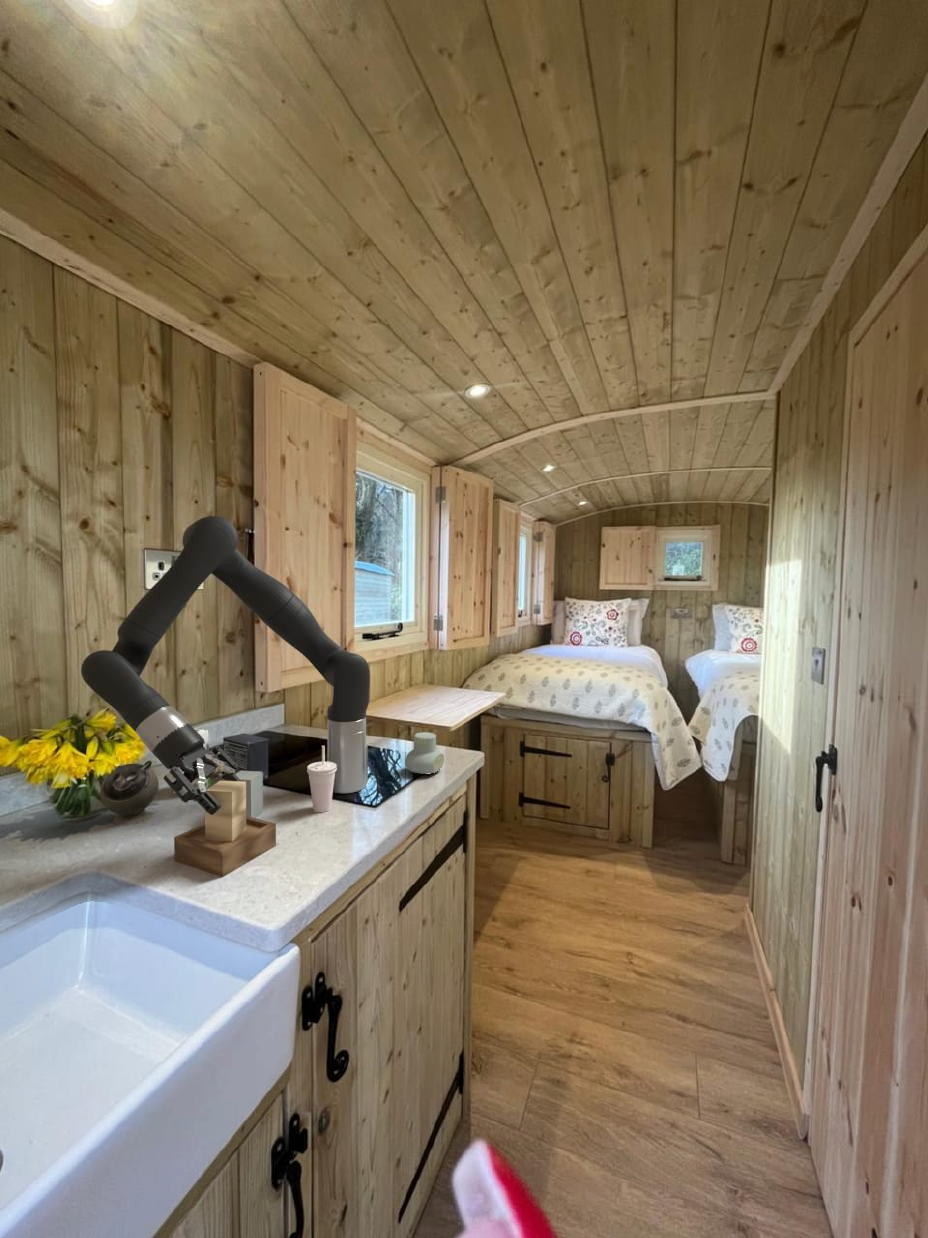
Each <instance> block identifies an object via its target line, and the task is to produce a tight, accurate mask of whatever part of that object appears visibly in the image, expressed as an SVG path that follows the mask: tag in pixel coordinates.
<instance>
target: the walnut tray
mask: <svg viewBox="0 0 928 1238" xmlns="http://www.w3.org/2000/svg"><path fill="white" fill-rule="evenodd" d="M275 847H277V823H276V822H272V821H269V820H268V821H267V820H264V819H261V818H258V817H257V818H253V817H249V816H246V830H244V831H243V832H242V833H241V834H240V835H239V836H238V837H237V838H236V839H235V840H234V841H232V842H230V841H212V840H205V822H204V823H202V824H199V825H197V826H195V827H194V828H191V829H189V830H187V831H185V832H183V833H180V834H178V835H176V836H174V837H173V848H174V849H173V850H174V853H173V855H174V856H173V857H174V859H173V860H174V862H176V863H179V864H183V865H185V866H188V867H190V868H194V869H197V870H200V871H203V872H206V873H208V874H211V875H216V876H219V877H221V878H224V877H226V876H227V875H229V874H231V873H233V872H234V871H236V870H238V869H239V868H241V867H243V866H244V865H246V864H248V863H250V862H252V861H253V860H255V859H257V858H258V857H259V856H262V855H264V854H265V853H267V852H268V851H269V850H272V849H273V848H275Z"/></svg>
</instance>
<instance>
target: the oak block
mask: <svg viewBox="0 0 928 1238" xmlns="http://www.w3.org/2000/svg"><path fill="white" fill-rule="evenodd" d="M207 791H208V792H209V793H210V794H211V795H212V796H213V797H214V798H215V799H216V800H217V801H218V802H219V803H220V805H221V808H220V809H219V810H218V811H217V812H216V813H214V814H213V815H210V814H209V813H208V812H206V811H205V810H204V823H205V840H212V841H230V842H232V841H234V840H235V839H236V838H237V837H238V836H239V835H240V834H241V833H242V832H243V831H244V830H246V782H240V781H223V780H219V781H217V782H216V783H214V784H213V785H210V787H209V788H207V789H206V791H205V792H207Z"/></svg>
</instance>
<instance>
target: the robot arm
mask: <svg viewBox="0 0 928 1238" xmlns="http://www.w3.org/2000/svg"><path fill="white" fill-rule="evenodd" d="M238 544H239V535H238V530H237V529H236V527H235V526H234V524H233V523H232V522H230V521H229V520H228V519H226V518H223V517H221V516H217V515H209V516H205V517H204V516H203V517H201V518H199V519H198V520H196V521H194V522H193V523H191V524H190V525H189V526H188V527H187V528H186V529H185V531H184V532H183V535H182V546H183V549H182V550H181V552H180V554H178V555H179V556H178V557H177V558H176V559H175V561H174V562H173V563H172V565H171V566H170V568H169V569H168V570H167V571H166V572H165V573H164V574H163V576H161V578H160V579H159V580H158V581H156V582H155V584H154V585H153V586H152V587H151V588H150V589H149V590H148V591H147V592H146V593H145V594H144V595H143V596H142V597H141V599H140V600H139V601H138V603H136V605H135V606H134V607H133V608H132V610H131V611H130V613H128V615H127V616H126V617H125V619H124V620H123V621H122V623H121V624H120V625H119V627H118V629H117V633H116V634H117V638H118V639H117V641H116V644H115V645H114V647H113V649H112V650H105V649H102V650H98V651H93V652H92V653H90V654H88V656H86V657H85V658H84V660H83V662H82V664H81V668H80V669H81V670H80V673H81V677H82V679H83V681H84V682H85V684H86V685H87V686H88V687H89V688H90V689H91V690H92V691H93V692H94V693H95V694H96V695H97V696H99V697H100V699H102V700H103V701H104V702H106V703H107V704H108V705H109V706H111V708H114V710H115V711H116V712H117V713H118V714H119V716H121V718H122V719H123V721H124V722H125V723H126V724H127V725H128V726H129V727H130V728H131V729H132V730H133V731H134V732H135V733H136V735H137V736H138V738H139V739H140V740H141V742H142V743H143V744H144V746H146V747H147V749H148V750H149V751H150V752H151V753H152V754H153V755H154V757H156V758H157V760H159V761H160V762H161V763H162V765H163V766H164V767H165V768H166V769H167V770H169V771H168V772H167V773H166V774H165V775H164V776H163V780H164V781H165V783H167V785H168V786H169V787H170V788H171V790H172V791H174V792H175V793H176V794H175V795H176V796H178V798H179V799H180V800H181V801H182V803H188V802H189V801H193V802H196V803H198V804H199V806H200V807H202V809H203V811H204V812H205V811H206V812H208V813H209V814H210V815H213V814H214V813H216V812H217V811H218V810H219V809H220V808H221V805H220V803H219V802H218V801H217V800H216V799H215V798H214V797H213V796H212V795H211V794H210V793H209V792H208V791H207V792H205V791H206V790H207V789H205V784H204V781H205V779H208V778H210V779H211V780H215V779H218V780H219V781H240V782H242V781H241V780H240V779H239V778H238V777H237V776H236V775H235V770H236V768H237V767H238V765H237V764H236V763H235V762H234V761H233V760H232V759H231V758H230V757H229V756H228V755H227V754H226V753H225V752H224V749H222V748H221V747H220V746H219V745H215V746H214V747H213V748H211V749H210V750H209V751H208V750H206V749H205V748H204V747H203V744H204V739H203V738H202V736H201V735H200V734H199V733H198V732H197V731H196V730H195V729H194V728H195V727H193V725H192V724H190V723H189V721H187V720H186V718H185V717H184V716H183V715H182V714H181V713H180V712H179V711H177V710H176V709H175V708H174V707H172V706H171V704H170V703H169V702H168V701H167V700H166V699H165V698H164V697H163V696H162V695H161V694H160V693H159V692H158V691H157V690H156V689H154V688H153V687H152V686H150V685H148V683H146V682H145V681H144V680H143V679H142V678H141V675H142V673H143V671H144V670H145V668H146V665H147V664H148V662H149V660H150V657H151V655H152V653H153V651H154V648H155V647H156V646H157V644H158V643H159V642H161V640H162V638H163V637H164V635H165V634H166V633H167V632H168V630H169V629H170V627H171V626H172V624H173V623H174V622H175V620H176V619H177V618H178V616H179V615H180V614H181V612H182V611H183V609H184V608H185V606H186V605H187V604H188V602H189V600H190V599H191V598H192V597H193V595H194V594H195V593H196V591H197V590H198V589H199V587H201V585H202V584H203V583H204V582H205V581H206V579H207V578H208V577H209V576H210V575H213V576H214V577H215V578H216V579H218V580H219V581H220V582H222V583H223V584H225V586H227V587H228V588H229V589H230V591H232V592H233V593H234V595H235V596H236V597H237V598H239V599H240V601H241V602H242V603H243V604H245V605H246V607H247V608H249V609H250V610H251V611H252V612H253V613H254V614H255V615H256V616H257V617H258V619H260V620H261V621H262V623H264V624H265V625H266V626H267V627H268V628H269V629H270V630H272V631H273V632H274V633H275V634H276V635H278V636H279V637H280V638H281V639H282V640H283V641H284V642H286V643H287V644H289V645H290V646H291V647H292V648H294V650H297V651H298V652H299V653H300V654H302V655H303V657H305V658H306V659H307V661H308V662H310V664H311V665H312V666H313V667H314V668H315V670H317V671H318V673H319V674H320V675H321V677H322V678H323V679H324V680H325V681H326V682H327V683H328V684H329V685H330V686H331V687H332V703H331V704H330V705H329V706H328V707H327V713H326V714H327V719H326V720H327V724H326V725H327V762H333V763H335V764H336V765H337V770H336V771H335V778H334V785H333V793H334V794H335V793H337V794H351V793H355V792H360V791H362V790H363V789H365V788H366V786H367V783H369V782H368V780H369V775H368V773H369V768H368V767H369V764H368V763H369V760H368V758H369V757H368V755H369V747H368V745H367V709H368V708H369V704H370V687H371V672H370V666H369V663H368V661H367V660H366V658H364V657H363V656H362V655H360V654H358V653H352V652H351V651H350V652H349V651H347V650H345V649H344V648H342V647H341V646H340V645H338V644H337V643H336V642H335V641H334V640H332V638H330V637H329V636H328V634H326V633H325V631H324V630H323V628H322V627H321V626H320V624H319V623H318V620H317V619H316V617H315V616H314V614H313V613H312V611H311V610H310V608H309V607H307V605H306V603H304V601H302V600H301V599H300V598H299V596H297V595H296V594H295V593H294V592H293V591H292V590H291V589H290V588H288V586H286V585H285V584H283V582H280V581H279V580H278V579H276V578H274V577H272V576H271V575H269V574H267V573H266V572H264V571H263V570H262V569H259V568H258V567H256V566H255V565H254V564H253V563H252V562H251V561H249V560H248V559H247V557H245V556H244V555H243V553H241V552H240V550H239V549H237V546H238ZM225 762H227V763H228V764H229V765H230V767H228V766H226V765H225ZM183 786H184V787H185V788H186V790H187V791H188V792H187V793H185V792H184V791H183V789H182V788H183Z"/></svg>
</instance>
